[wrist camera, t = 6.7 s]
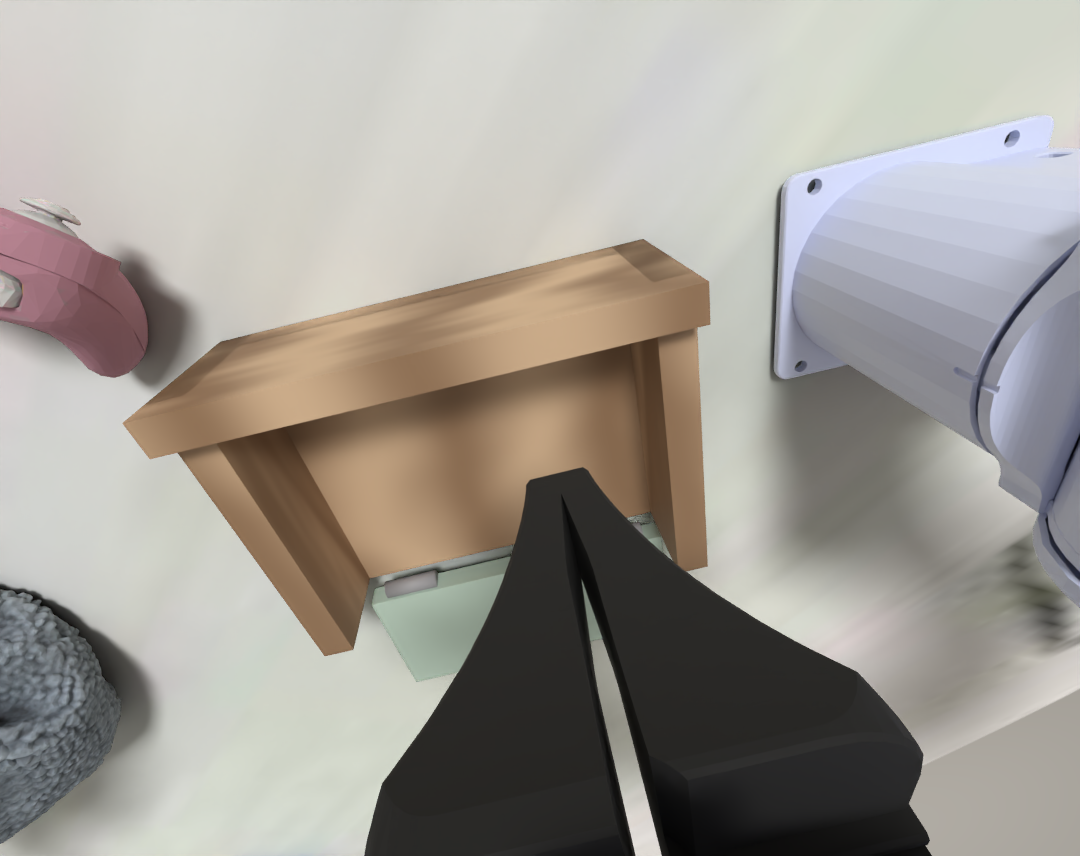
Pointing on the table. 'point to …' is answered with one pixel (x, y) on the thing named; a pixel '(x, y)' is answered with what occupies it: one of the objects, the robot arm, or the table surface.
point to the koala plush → (47, 711)
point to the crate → (445, 422)
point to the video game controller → (69, 289)
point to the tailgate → (451, 612)
